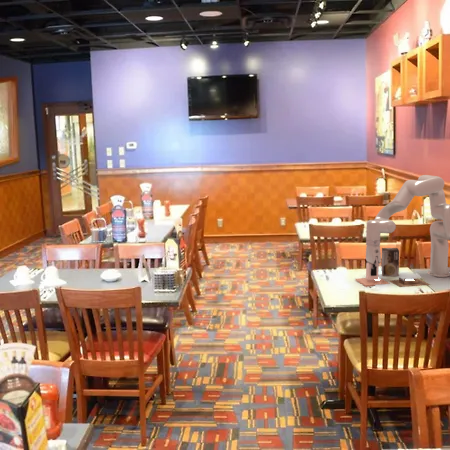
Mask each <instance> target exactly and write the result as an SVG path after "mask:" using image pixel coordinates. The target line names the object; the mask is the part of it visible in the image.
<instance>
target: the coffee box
mask: <svg viewBox="0 0 450 450" xmlns="http://www.w3.org/2000/svg"><path fill="white" fill-rule="evenodd" d="M381 271H382V275H381V276H383V277H399V276H400V249H399V248H398V247H381Z"/></svg>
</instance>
